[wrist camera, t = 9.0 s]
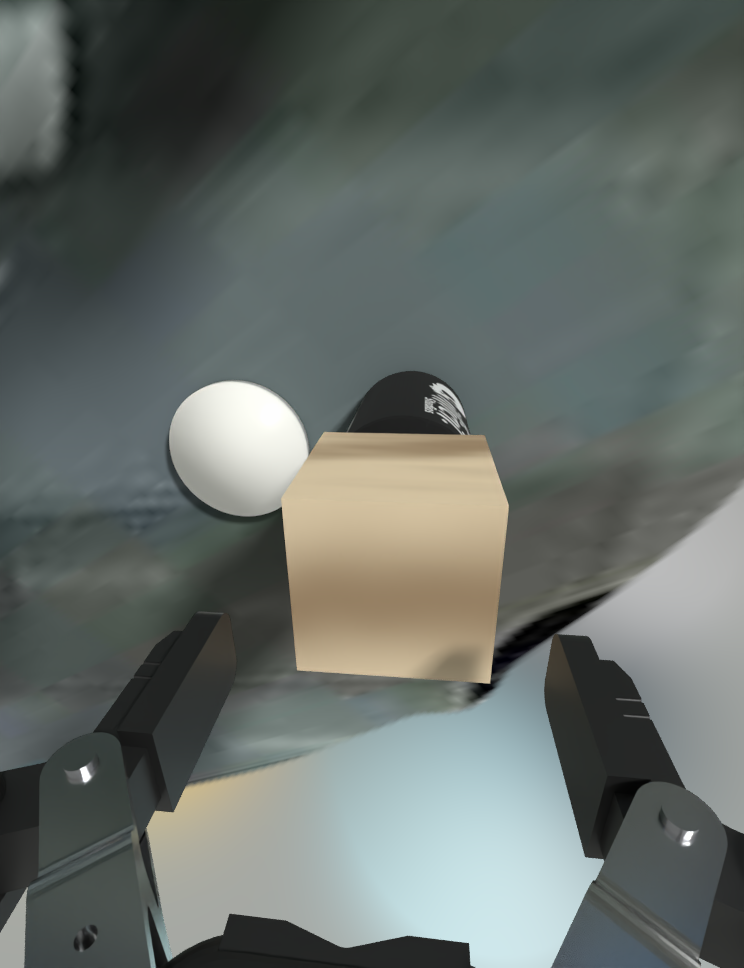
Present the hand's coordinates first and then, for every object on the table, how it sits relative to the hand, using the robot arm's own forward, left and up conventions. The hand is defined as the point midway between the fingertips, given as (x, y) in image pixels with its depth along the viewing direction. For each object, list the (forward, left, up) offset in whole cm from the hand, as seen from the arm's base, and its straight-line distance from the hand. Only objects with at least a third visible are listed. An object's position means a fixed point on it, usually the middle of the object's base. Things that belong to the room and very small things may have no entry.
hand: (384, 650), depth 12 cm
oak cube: (0, 0, -8) cm, 8 cm away
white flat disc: (+2, -11, -20) cm, 23 cm away
